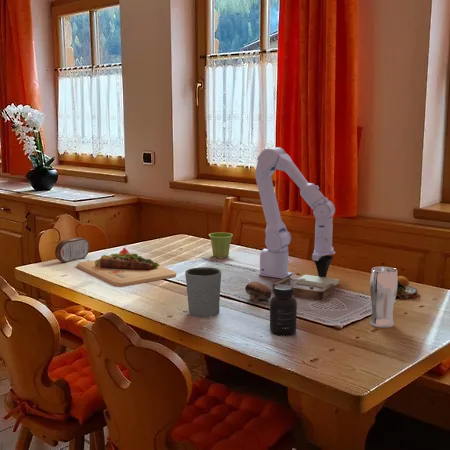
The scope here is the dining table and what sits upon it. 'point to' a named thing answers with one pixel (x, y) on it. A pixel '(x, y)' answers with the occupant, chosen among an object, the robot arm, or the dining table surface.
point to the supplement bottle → (283, 311)
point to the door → (316, 281)
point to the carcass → (307, 290)
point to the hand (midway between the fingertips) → (322, 277)
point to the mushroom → (258, 291)
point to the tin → (72, 249)
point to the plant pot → (220, 244)
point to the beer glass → (383, 296)
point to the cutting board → (126, 269)
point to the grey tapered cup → (203, 291)
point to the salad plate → (405, 288)
